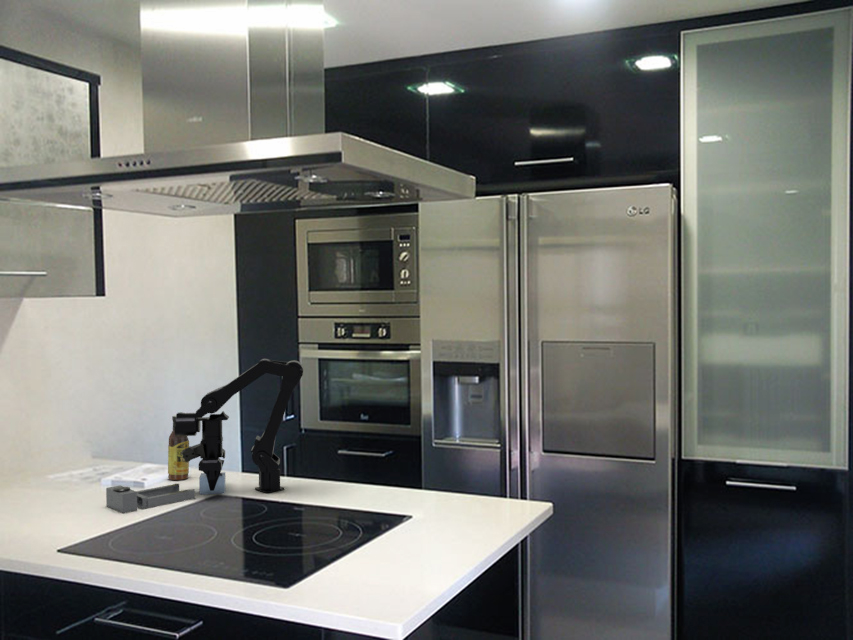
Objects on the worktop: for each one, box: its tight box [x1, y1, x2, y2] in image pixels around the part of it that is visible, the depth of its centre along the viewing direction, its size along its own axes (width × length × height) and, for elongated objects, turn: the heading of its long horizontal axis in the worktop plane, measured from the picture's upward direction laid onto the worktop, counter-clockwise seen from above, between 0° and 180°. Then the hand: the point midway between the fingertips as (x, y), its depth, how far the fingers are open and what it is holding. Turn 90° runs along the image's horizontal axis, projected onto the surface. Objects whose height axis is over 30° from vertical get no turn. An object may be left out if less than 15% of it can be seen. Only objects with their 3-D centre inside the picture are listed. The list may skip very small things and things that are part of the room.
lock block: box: [198, 471, 226, 495], centre depth 232 cm, size 5×7×5 cm
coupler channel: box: [105, 483, 196, 514], centre depth 220 cm, size 11×21×5 cm, turn 136°
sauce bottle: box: [167, 414, 190, 481], centre depth 248 cm, size 6×6×20 cm
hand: (212, 488), depth 232 cm, fingers closed on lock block, 5 cm apart
